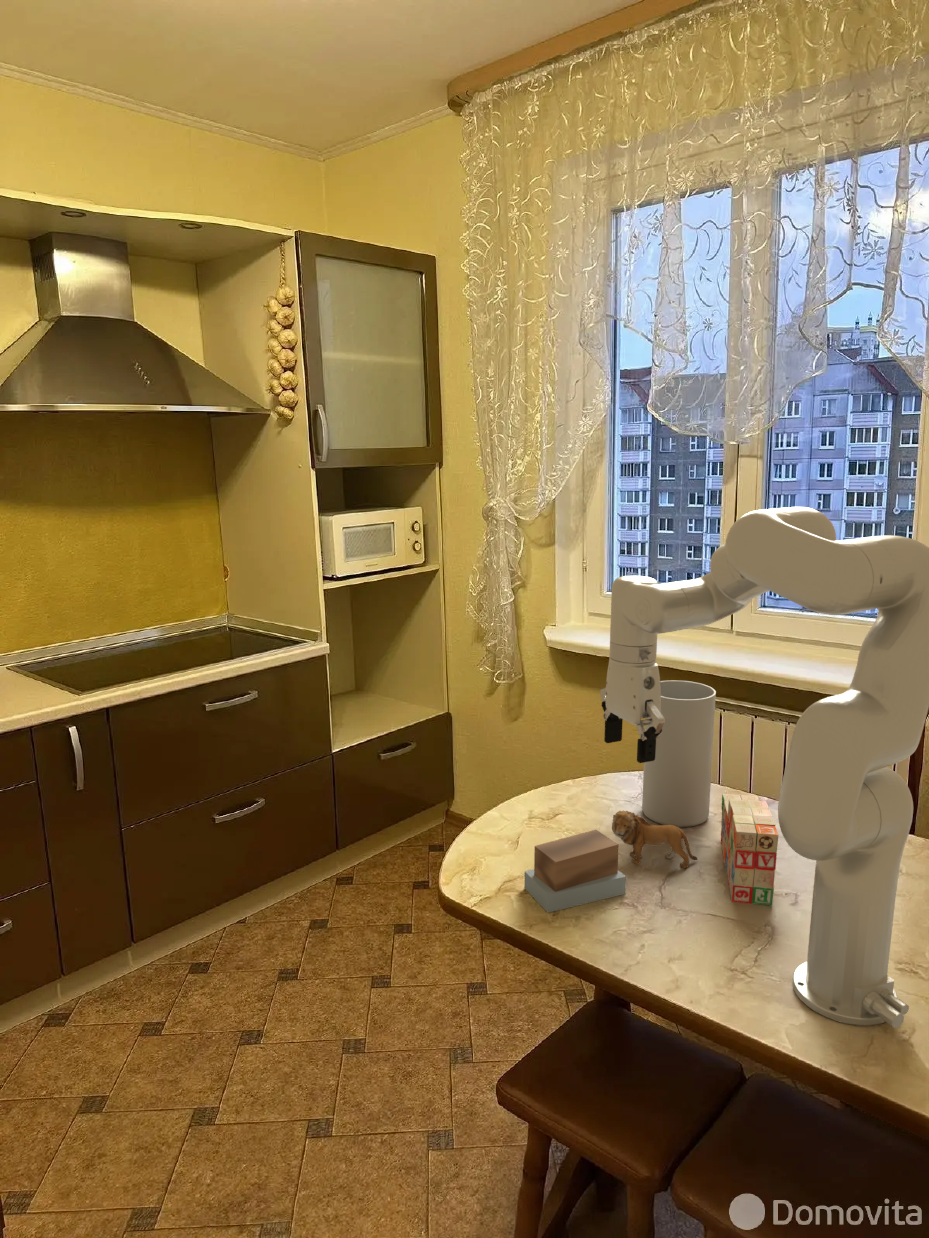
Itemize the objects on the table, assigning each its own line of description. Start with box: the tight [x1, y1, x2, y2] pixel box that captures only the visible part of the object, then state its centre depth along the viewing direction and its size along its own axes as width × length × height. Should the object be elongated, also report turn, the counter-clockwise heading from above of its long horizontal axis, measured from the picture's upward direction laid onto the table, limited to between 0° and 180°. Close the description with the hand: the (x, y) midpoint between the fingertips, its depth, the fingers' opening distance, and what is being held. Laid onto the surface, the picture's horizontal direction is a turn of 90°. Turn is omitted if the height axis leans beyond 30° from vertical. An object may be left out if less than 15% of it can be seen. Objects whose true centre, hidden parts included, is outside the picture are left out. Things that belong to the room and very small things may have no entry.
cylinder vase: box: [641, 679, 717, 828], centre depth 165 cm, size 12×12×25 cm
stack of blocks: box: [720, 793, 779, 906], centre depth 144 cm, size 21×6×12 cm, turn 169°
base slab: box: [524, 868, 627, 913], centre depth 139 cm, size 8×14×3 cm, turn 113°
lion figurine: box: [611, 810, 698, 869], centre depth 148 cm, size 15×5×9 cm, turn 86°
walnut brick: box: [533, 829, 620, 892], centre depth 139 cm, size 6×12×5 cm, turn 118°
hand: (629, 751), depth 145 cm, fingers open, 9 cm apart
